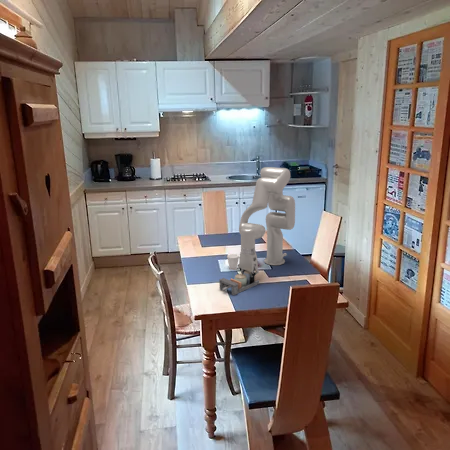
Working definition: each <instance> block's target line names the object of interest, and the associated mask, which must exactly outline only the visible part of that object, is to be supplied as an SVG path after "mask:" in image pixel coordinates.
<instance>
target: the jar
mask: <svg viewBox="0 0 450 450" xmlns="http://www.w3.org/2000/svg"><path fill="white" fill-rule="evenodd" d="M252 274H253V272H252ZM244 275H246V276H247V284H250V277H251V276H250V272H249V271H246V270H245V271H244Z"/></svg>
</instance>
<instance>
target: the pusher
mask: <svg viewBox="0 0 450 450" xmlns="http://www.w3.org/2000/svg"><path fill="white" fill-rule="evenodd" d="M229 280H230V281H233V282H235V283H238V288H241V282H239V281H237V280H235V278H234V279H233V278H232V277H231V278H230V279H229ZM231 288H232V287H231V286H228V287H225V288H223V289H222V290H221V291H225V290H228V289H231Z"/></svg>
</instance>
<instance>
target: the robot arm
mask: <svg viewBox="0 0 450 450" xmlns="http://www.w3.org/2000/svg"><path fill="white" fill-rule="evenodd" d="M290 180H291V170H289V169H288V168H286V167H274V166H269V167H268V166H264V167H262V168H261V169H260V177H259V178H258V179H257V180H256V182H255V188H254V192H253V197H252V201H251V204H250V205H249V206H248V207H247V208H246V209H245V210H244V212H243V213H242V215H241V217H240V221H239V226H238V233H239V234H240V253H239V257H240V258H239V259H238V265H237V268H238V267H239V268H238V269H239V271H240V274H244V271H245V270H246V271H249V272H250V276H251V277H250V283H252V282H254V281H256V280H255V279H256V278H255V277H256V276H257V275H258V274H259V273H260V271H259V265H258V255H257V251H256V240H258V239H262V238H263V237H264V236H265V234H266V257H265V258H264V261H263V262H264V264H267V265H269V266H281V265H283V264H285V262H286V259H284V257H286V256H288V254H287V253H286V252H284V253H283V250H284V249H283V247H284V246H283V245H284V244H283V243H284V234H283V232H282V230H289V231H290V230H293V228H294V227H295V223H296V200H295V198H294V197H293V196H291V195H284V190H283V189H285V187H286V186H287V184H288V183H289V181H290ZM267 208H268V209H269V210H272V211H270V212H268V213H267V214H266V216H265V224H266V225H265V226H266V228H265V226H264V225H262V224H259V223H251V222H249V220H250V217H251V216H253V214H255V213H257V212H259V211H261V210H265V209H267ZM266 231H267V232H266ZM252 272H253V274H252Z"/></svg>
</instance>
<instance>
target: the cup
mask: <svg viewBox="0 0 450 450" xmlns="http://www.w3.org/2000/svg"><path fill="white" fill-rule="evenodd" d="M226 258H227V261H228V262H227V263H228V264H227V265H228V267H229V269H230V270H231V271H234V270H238V269H239V267H238V264H239V258H240V254H237V253H229V254H227V256H226ZM237 268H238V269H237Z"/></svg>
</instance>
